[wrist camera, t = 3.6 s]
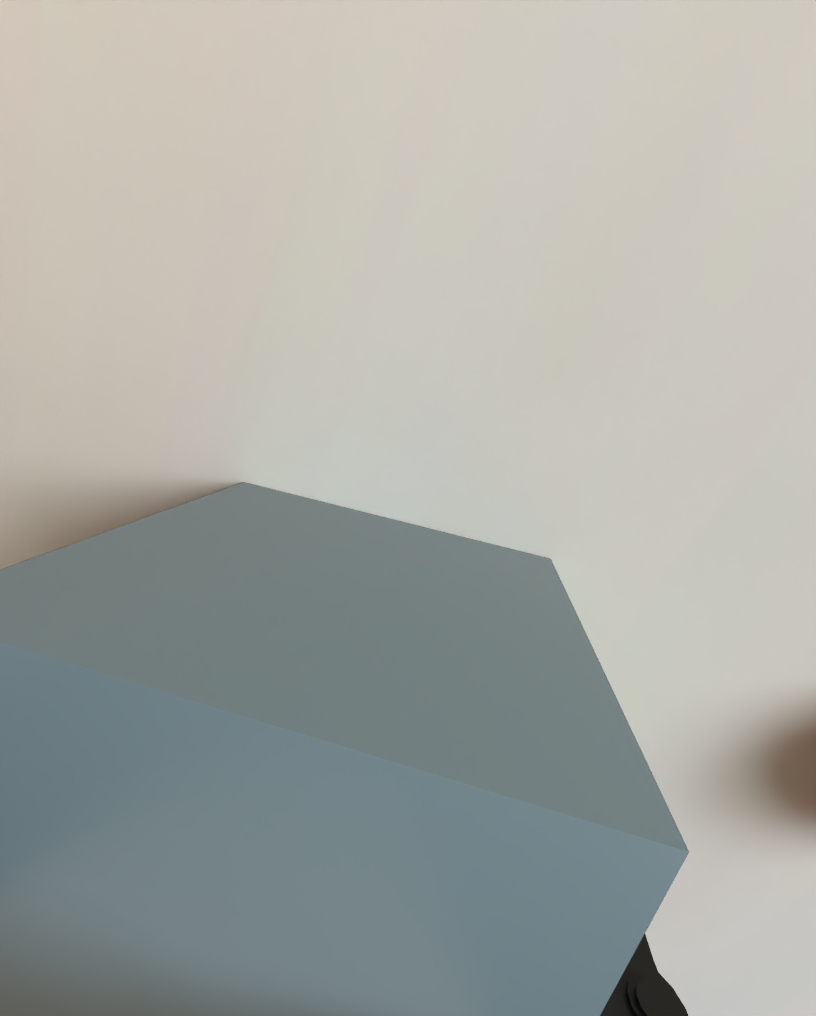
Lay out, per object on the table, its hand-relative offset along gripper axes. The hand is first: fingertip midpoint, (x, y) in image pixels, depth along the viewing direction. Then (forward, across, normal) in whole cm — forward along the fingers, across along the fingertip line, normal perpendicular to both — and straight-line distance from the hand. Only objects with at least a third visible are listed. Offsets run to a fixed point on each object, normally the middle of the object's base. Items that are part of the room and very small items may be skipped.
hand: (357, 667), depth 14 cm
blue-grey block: (+1, 0, 0) cm, 1 cm away
